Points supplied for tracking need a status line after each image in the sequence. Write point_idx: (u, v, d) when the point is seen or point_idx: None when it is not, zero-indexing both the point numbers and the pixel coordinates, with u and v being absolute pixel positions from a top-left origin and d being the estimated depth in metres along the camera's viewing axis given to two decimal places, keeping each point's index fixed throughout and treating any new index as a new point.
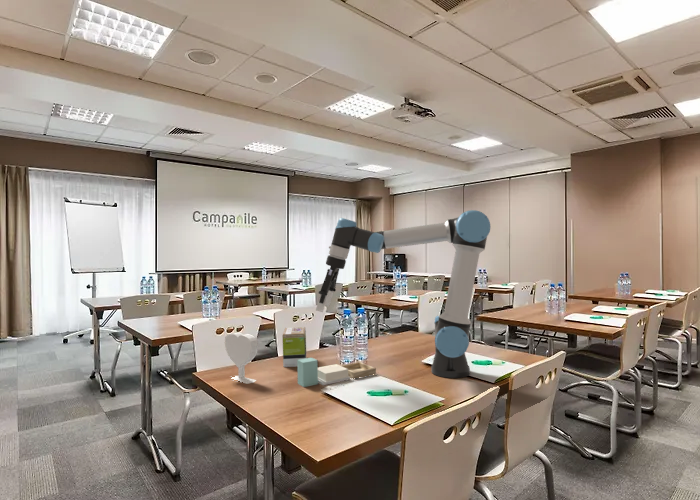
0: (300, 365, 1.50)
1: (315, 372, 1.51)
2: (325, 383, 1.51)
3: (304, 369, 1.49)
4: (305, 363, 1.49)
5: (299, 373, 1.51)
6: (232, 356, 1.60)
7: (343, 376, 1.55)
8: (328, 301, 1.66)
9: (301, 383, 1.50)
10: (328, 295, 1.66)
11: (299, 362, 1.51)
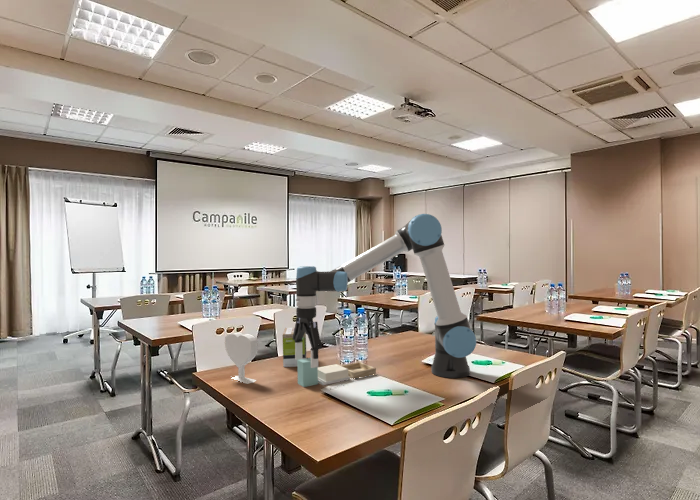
0: (300, 365, 1.50)
1: (315, 372, 1.51)
2: (325, 383, 1.51)
3: (304, 369, 1.49)
4: (305, 363, 1.49)
5: (299, 373, 1.51)
6: (232, 356, 1.60)
7: (343, 376, 1.55)
8: (300, 353, 1.58)
9: (301, 383, 1.50)
10: (299, 347, 1.58)
11: (299, 362, 1.51)
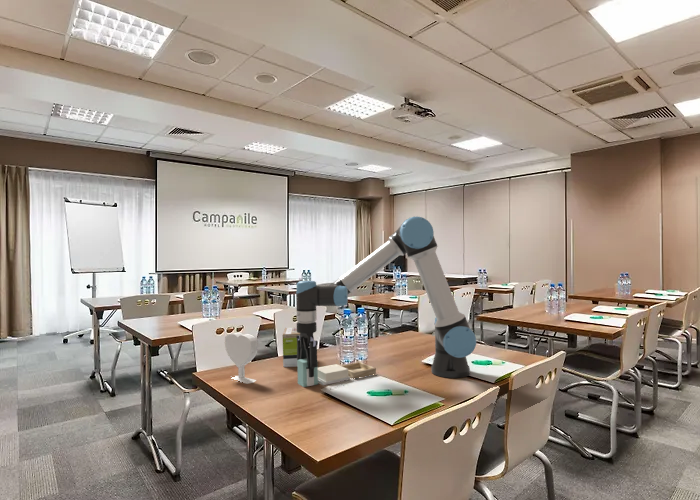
0: (301, 365, 1.50)
1: (315, 372, 1.51)
2: (325, 383, 1.51)
3: (304, 369, 1.49)
4: (305, 363, 1.49)
5: (299, 373, 1.51)
6: (232, 356, 1.60)
7: (343, 376, 1.55)
8: None
9: (301, 383, 1.50)
10: None
11: (299, 362, 1.51)
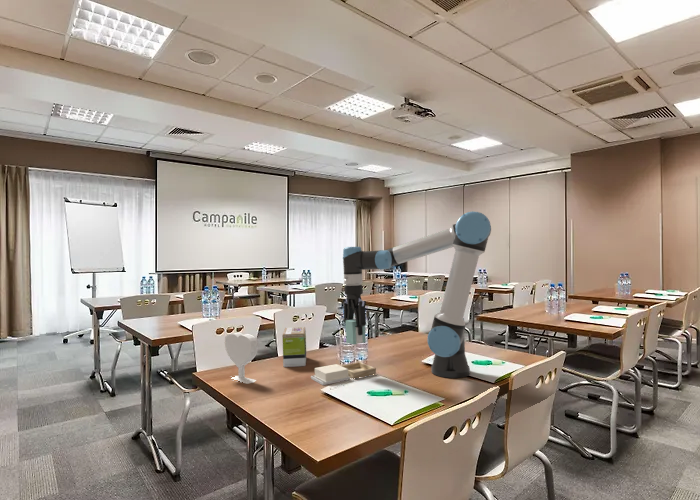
0: (350, 324, 1.61)
1: (363, 331, 1.63)
2: (325, 383, 1.51)
3: (354, 328, 1.60)
4: (354, 322, 1.60)
5: (348, 332, 1.62)
6: (232, 356, 1.60)
7: (343, 376, 1.55)
8: None
9: (350, 341, 1.61)
10: None
11: (348, 322, 1.62)
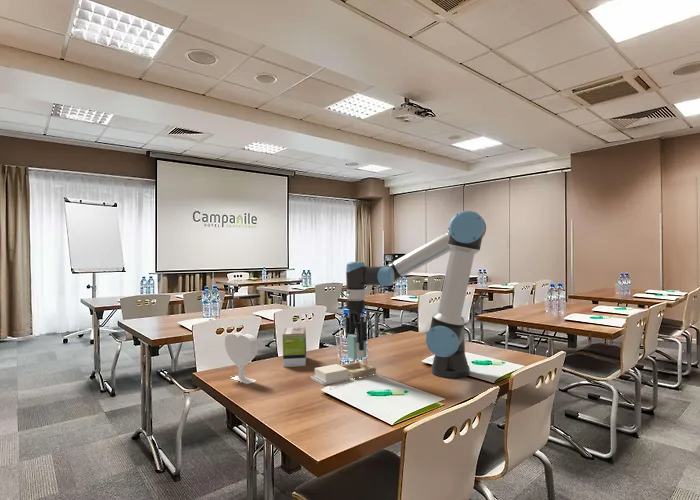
0: (351, 339, 1.62)
1: (364, 346, 1.63)
2: (325, 383, 1.51)
3: (355, 343, 1.61)
4: (355, 337, 1.61)
5: (349, 347, 1.63)
6: (232, 356, 1.60)
7: (343, 376, 1.55)
8: None
9: (351, 356, 1.62)
10: None
11: (349, 337, 1.63)
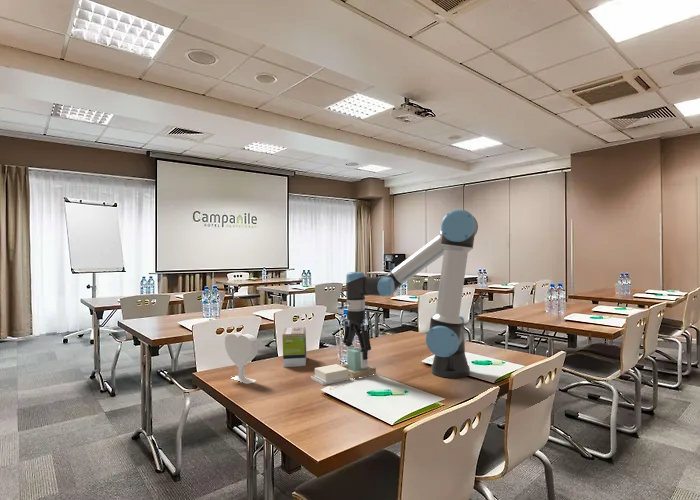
0: (352, 354, 1.62)
1: None
2: (325, 383, 1.51)
3: (356, 358, 1.61)
4: (356, 352, 1.61)
5: (350, 362, 1.63)
6: (232, 356, 1.60)
7: (343, 376, 1.55)
8: None
9: None
10: None
11: (350, 352, 1.63)
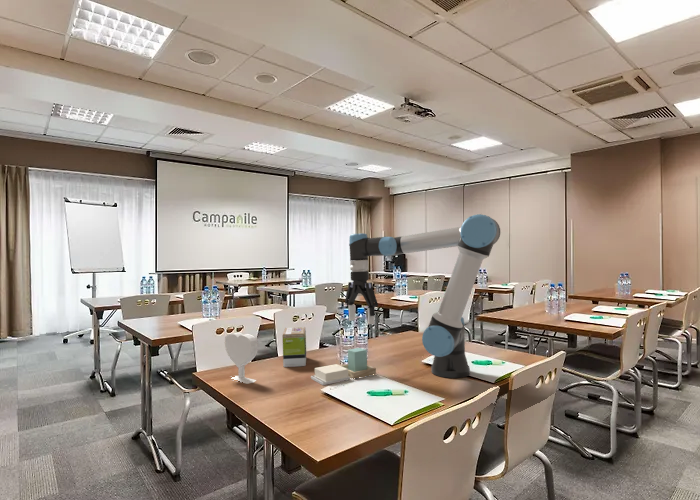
0: (352, 354, 1.62)
1: (365, 361, 1.63)
2: (325, 383, 1.51)
3: (356, 358, 1.61)
4: (356, 352, 1.61)
5: (350, 362, 1.63)
6: (232, 356, 1.60)
7: (343, 376, 1.55)
8: (353, 315, 1.72)
9: None
10: (352, 310, 1.72)
11: (350, 352, 1.63)
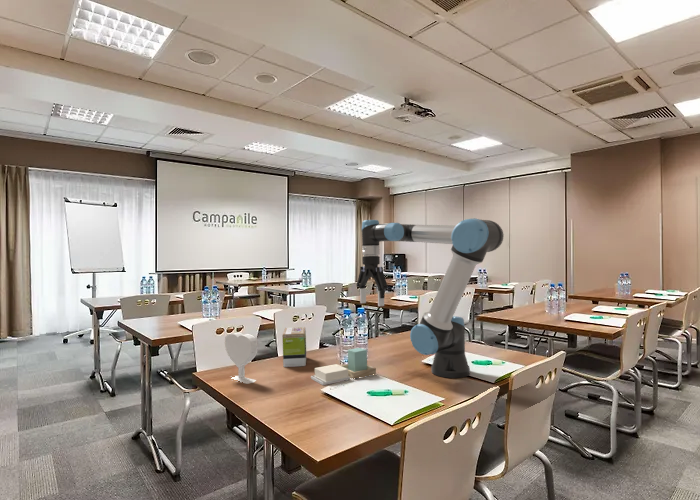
0: (352, 354, 1.62)
1: (365, 361, 1.63)
2: (325, 383, 1.51)
3: (356, 358, 1.61)
4: (356, 352, 1.61)
5: (350, 362, 1.63)
6: (232, 356, 1.60)
7: (343, 376, 1.55)
8: (364, 298, 1.81)
9: None
10: (363, 293, 1.80)
11: (350, 352, 1.63)
